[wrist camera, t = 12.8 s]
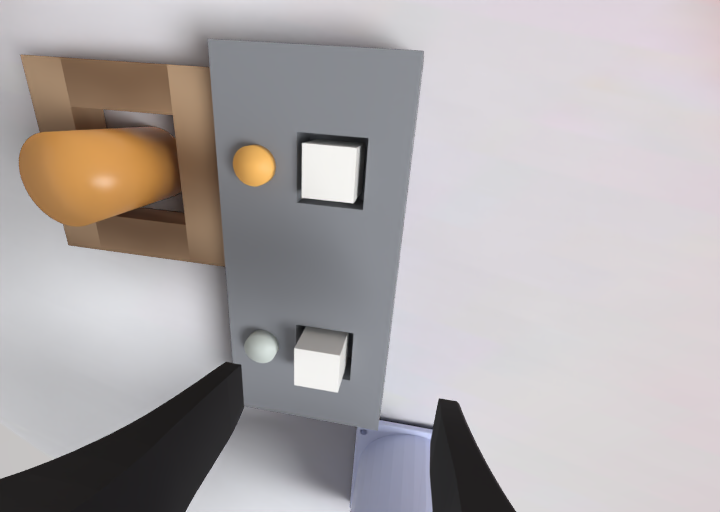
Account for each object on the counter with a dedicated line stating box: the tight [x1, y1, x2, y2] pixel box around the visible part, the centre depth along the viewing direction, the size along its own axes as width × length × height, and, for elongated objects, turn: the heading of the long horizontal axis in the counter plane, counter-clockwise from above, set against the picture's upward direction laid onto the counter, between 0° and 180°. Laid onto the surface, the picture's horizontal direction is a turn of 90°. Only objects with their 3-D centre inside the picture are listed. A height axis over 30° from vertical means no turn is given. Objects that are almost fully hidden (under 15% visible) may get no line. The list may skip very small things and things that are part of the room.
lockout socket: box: [21, 55, 225, 267], centre depth 20 cm, size 10×10×2 cm
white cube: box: [302, 139, 365, 203], centre depth 17 cm, size 2×2×2 cm
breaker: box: [294, 326, 349, 393], centre depth 20 cm, size 2×2×2 cm
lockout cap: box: [19, 126, 182, 227], centre depth 18 cm, size 4×4×6 cm
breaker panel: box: [208, 39, 424, 431], centre depth 20 cm, size 20×9×4 cm, turn 176°
